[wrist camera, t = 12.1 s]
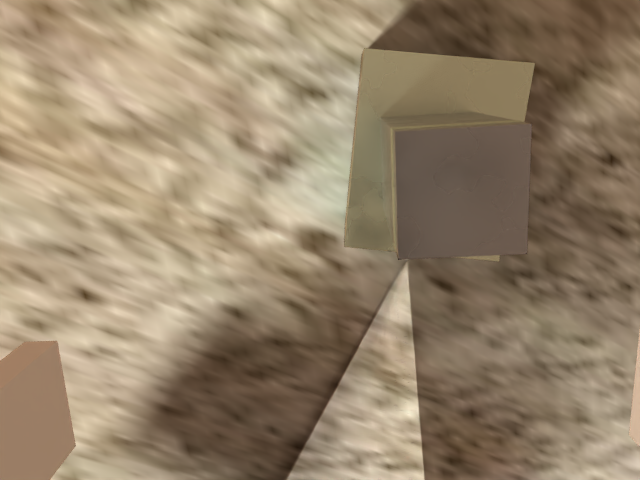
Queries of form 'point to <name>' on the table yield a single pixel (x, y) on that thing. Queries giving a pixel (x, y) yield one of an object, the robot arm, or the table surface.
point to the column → (456, 184)
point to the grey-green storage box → (418, 99)
